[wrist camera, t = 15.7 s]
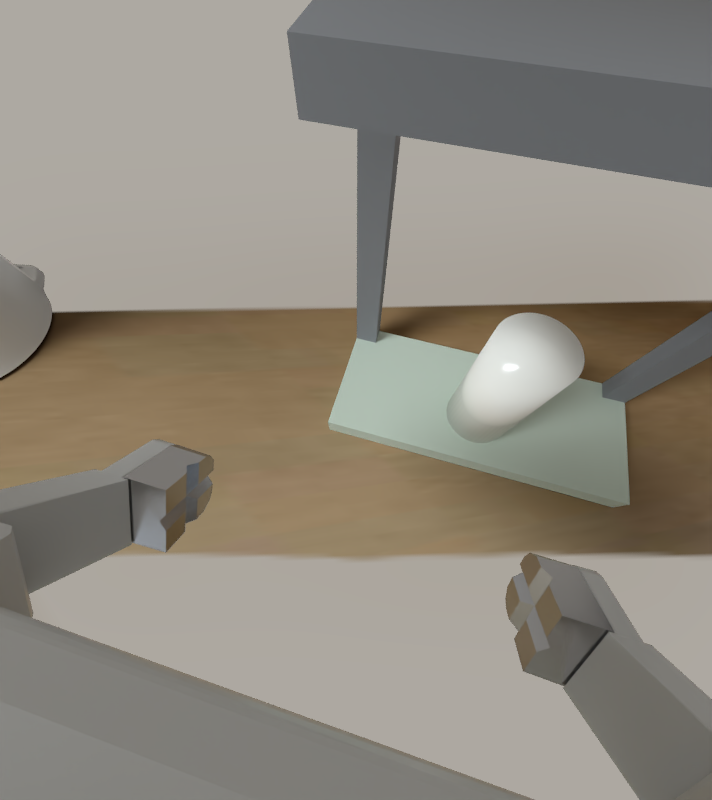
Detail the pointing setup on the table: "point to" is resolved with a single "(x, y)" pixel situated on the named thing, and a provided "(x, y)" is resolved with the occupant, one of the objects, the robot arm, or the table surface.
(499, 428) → the white cylinder
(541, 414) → the grey frame
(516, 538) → the table surface
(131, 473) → the robot arm
